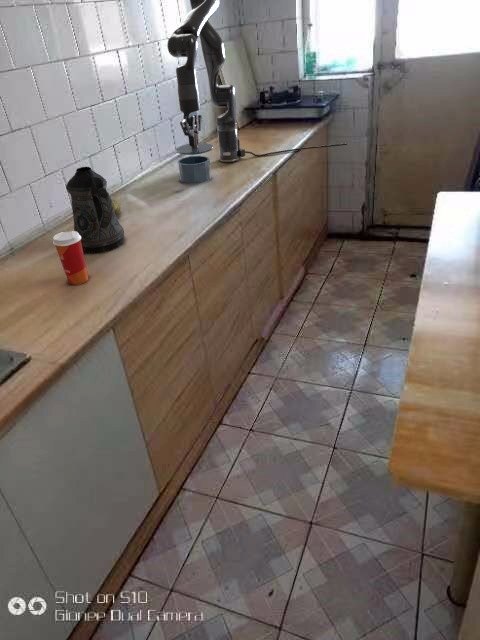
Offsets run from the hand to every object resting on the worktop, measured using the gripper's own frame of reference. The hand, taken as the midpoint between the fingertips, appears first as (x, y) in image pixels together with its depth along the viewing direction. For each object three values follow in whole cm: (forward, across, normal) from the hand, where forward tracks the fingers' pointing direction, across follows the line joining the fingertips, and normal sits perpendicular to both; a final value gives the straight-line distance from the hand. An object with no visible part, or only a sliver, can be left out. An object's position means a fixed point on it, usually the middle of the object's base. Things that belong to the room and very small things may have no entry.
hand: (194, 144), depth 186 cm
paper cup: (+18, -77, -1) cm, 79 cm away
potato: (+19, -32, +21) cm, 43 cm away
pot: (+19, +14, +10) cm, 26 cm away
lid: (+2, 0, 0) cm, 2 cm away
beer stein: (+19, -54, +8) cm, 57 cm away
